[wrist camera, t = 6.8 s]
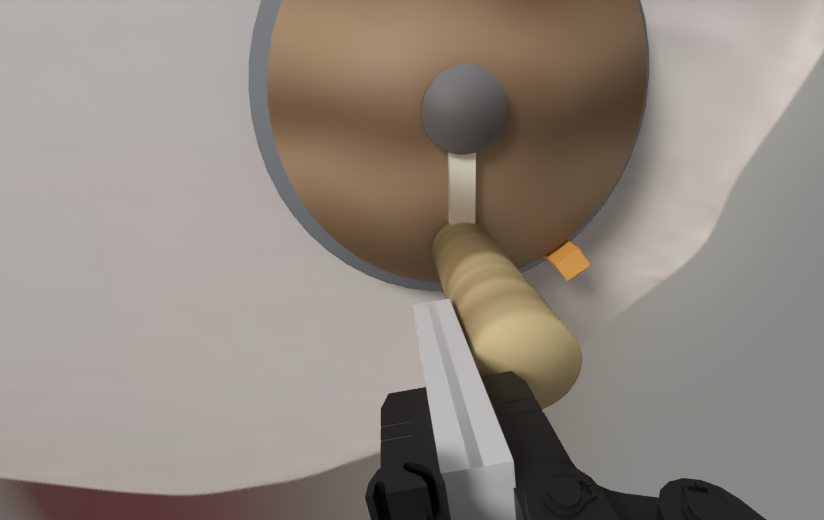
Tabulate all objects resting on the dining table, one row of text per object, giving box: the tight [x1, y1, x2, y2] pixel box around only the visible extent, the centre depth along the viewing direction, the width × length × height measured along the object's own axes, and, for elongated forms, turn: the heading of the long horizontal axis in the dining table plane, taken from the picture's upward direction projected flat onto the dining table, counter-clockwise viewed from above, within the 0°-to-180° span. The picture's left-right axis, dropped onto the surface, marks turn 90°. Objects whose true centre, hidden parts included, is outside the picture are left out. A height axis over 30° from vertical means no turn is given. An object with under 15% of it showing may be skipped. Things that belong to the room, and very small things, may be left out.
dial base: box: [249, 0, 649, 291], centre depth 19 cm, size 20×20×5 cm
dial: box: [267, 0, 647, 409], centre depth 13 cm, size 17×17×12 cm
